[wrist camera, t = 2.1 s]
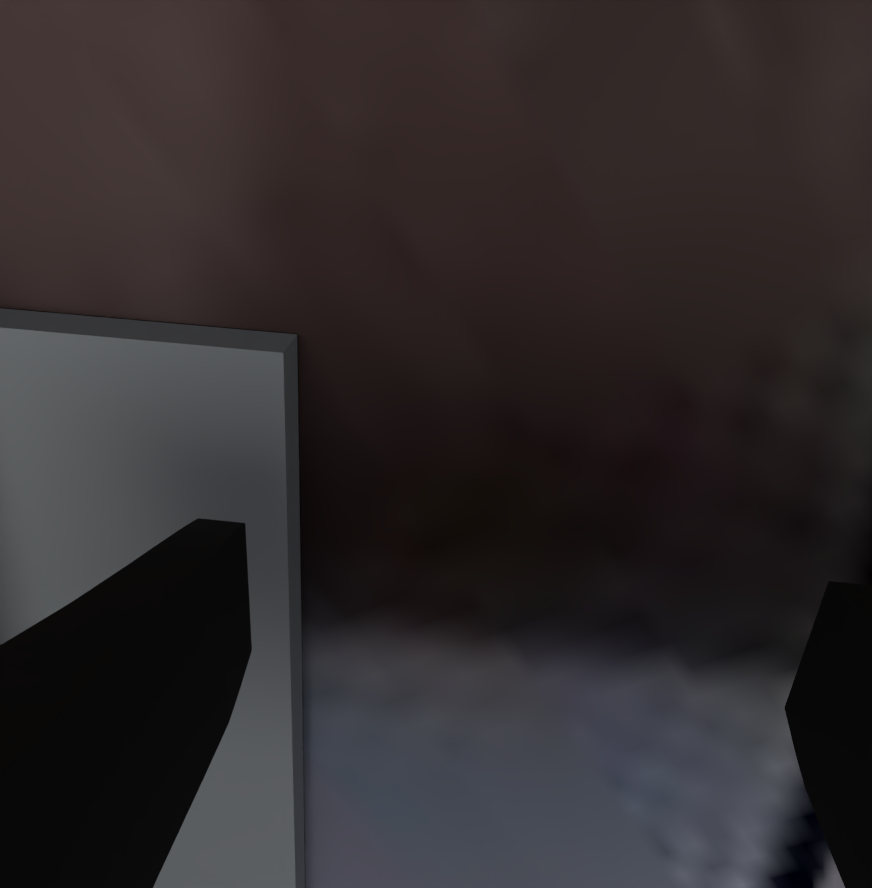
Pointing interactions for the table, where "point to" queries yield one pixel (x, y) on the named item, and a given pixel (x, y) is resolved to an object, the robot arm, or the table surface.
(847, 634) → the robot arm
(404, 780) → the table surface
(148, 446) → the label board
